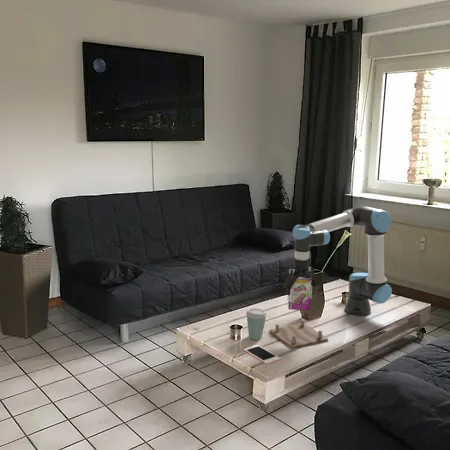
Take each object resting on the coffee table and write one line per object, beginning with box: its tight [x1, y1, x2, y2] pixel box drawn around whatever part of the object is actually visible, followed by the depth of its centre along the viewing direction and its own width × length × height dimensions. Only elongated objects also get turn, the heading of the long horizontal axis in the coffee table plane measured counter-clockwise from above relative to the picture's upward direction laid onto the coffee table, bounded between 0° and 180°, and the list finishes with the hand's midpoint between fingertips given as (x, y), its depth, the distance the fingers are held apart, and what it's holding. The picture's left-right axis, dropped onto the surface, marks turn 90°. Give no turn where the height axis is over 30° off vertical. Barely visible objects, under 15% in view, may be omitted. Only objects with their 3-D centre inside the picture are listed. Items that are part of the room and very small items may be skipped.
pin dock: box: [269, 319, 329, 350], centre depth 263 cm, size 22×22×5 cm
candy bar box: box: [287, 276, 312, 311], centre depth 258 cm, size 11×5×16 cm, turn 84°
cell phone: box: [243, 344, 281, 365], centre depth 243 cm, size 9×18×1 cm, turn 35°
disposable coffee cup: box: [245, 308, 268, 341], centre depth 260 cm, size 11×11×15 cm
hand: (299, 299), depth 259 cm, fingers closed on candy bar box, 12 cm apart
